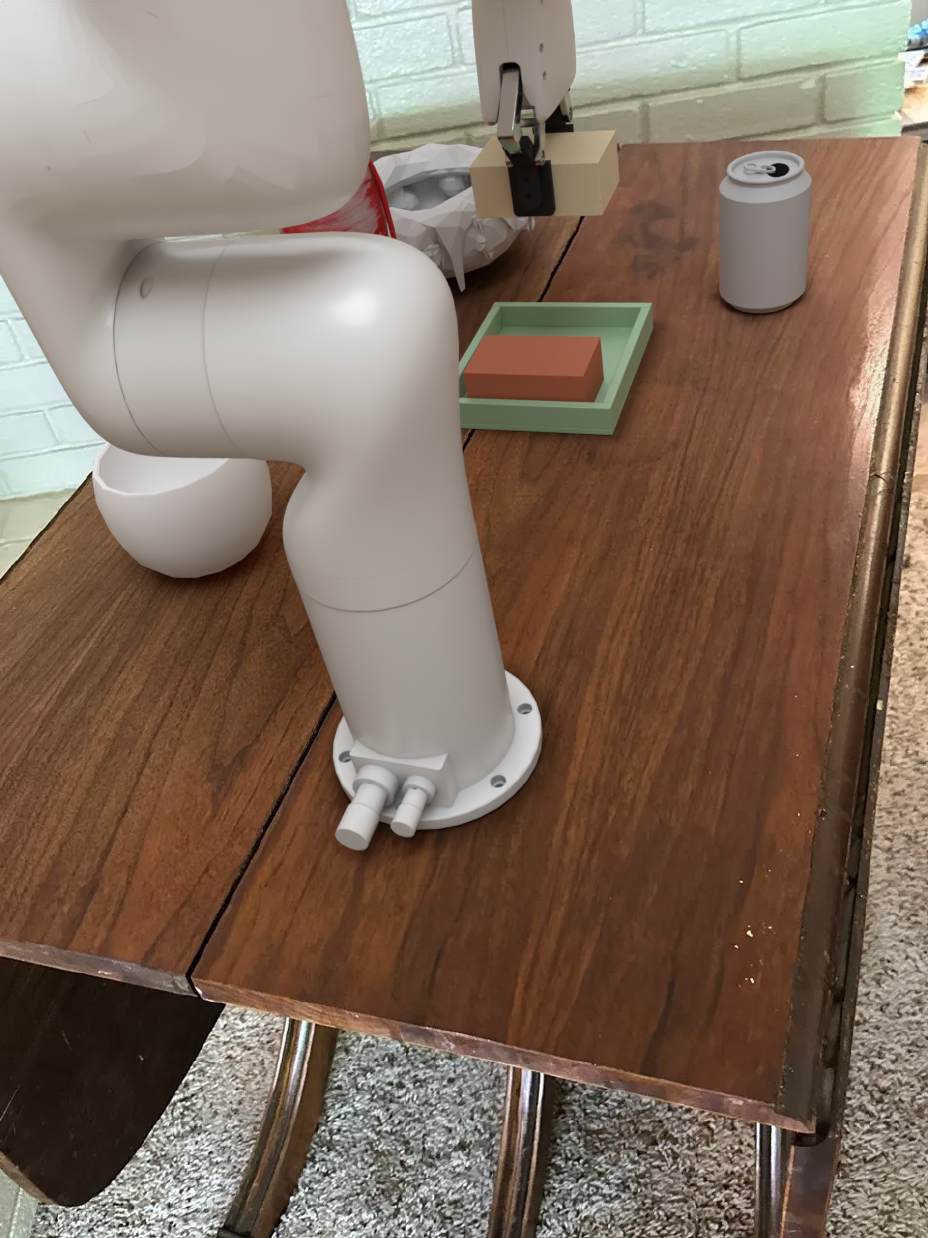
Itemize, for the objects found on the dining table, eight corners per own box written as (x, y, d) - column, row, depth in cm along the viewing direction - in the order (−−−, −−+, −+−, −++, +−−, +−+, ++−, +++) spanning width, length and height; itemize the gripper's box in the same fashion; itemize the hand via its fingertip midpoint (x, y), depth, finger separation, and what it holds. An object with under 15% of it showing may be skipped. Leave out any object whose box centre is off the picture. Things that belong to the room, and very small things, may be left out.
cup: (121, 538, 86) (72, 437, 80) (266, 483, 89) (230, 381, 82) (149, 629, 78) (96, 524, 71) (310, 565, 80) (273, 458, 73)
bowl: (307, 285, 114) (280, 191, 108) (449, 209, 123) (433, 117, 116) (434, 338, 102) (413, 235, 95) (583, 248, 110) (573, 149, 103)
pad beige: (602, 215, 81) (598, 162, 78) (476, 218, 85) (468, 167, 82) (619, 181, 85) (616, 129, 82) (499, 185, 88) (492, 135, 86)
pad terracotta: (587, 419, 87) (583, 376, 84) (470, 414, 90) (462, 372, 87) (604, 379, 91) (600, 336, 88) (491, 375, 94) (484, 334, 91)
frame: (612, 435, 86) (610, 408, 84) (440, 427, 90) (435, 401, 89) (653, 328, 96) (652, 302, 95) (498, 326, 101) (494, 301, 100)
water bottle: (289, 435, 93) (192, 140, 77) (318, 384, 99) (233, 99, 82) (421, 434, 90) (351, 126, 73) (444, 382, 96) (383, 84, 79)
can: (806, 315, 94) (814, 177, 86) (717, 319, 96) (717, 185, 88) (804, 274, 99) (811, 140, 91) (720, 279, 101) (720, 149, 93)
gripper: (500, -96, 79) (530, 152, 91) (421, -25, 68) (467, 247, 80) (601, -109, 77) (618, 148, 89) (535, -37, 65) (565, 246, 78)
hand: (546, 193), depth 84 cm, fingers closed on pad beige, 6 cm apart
